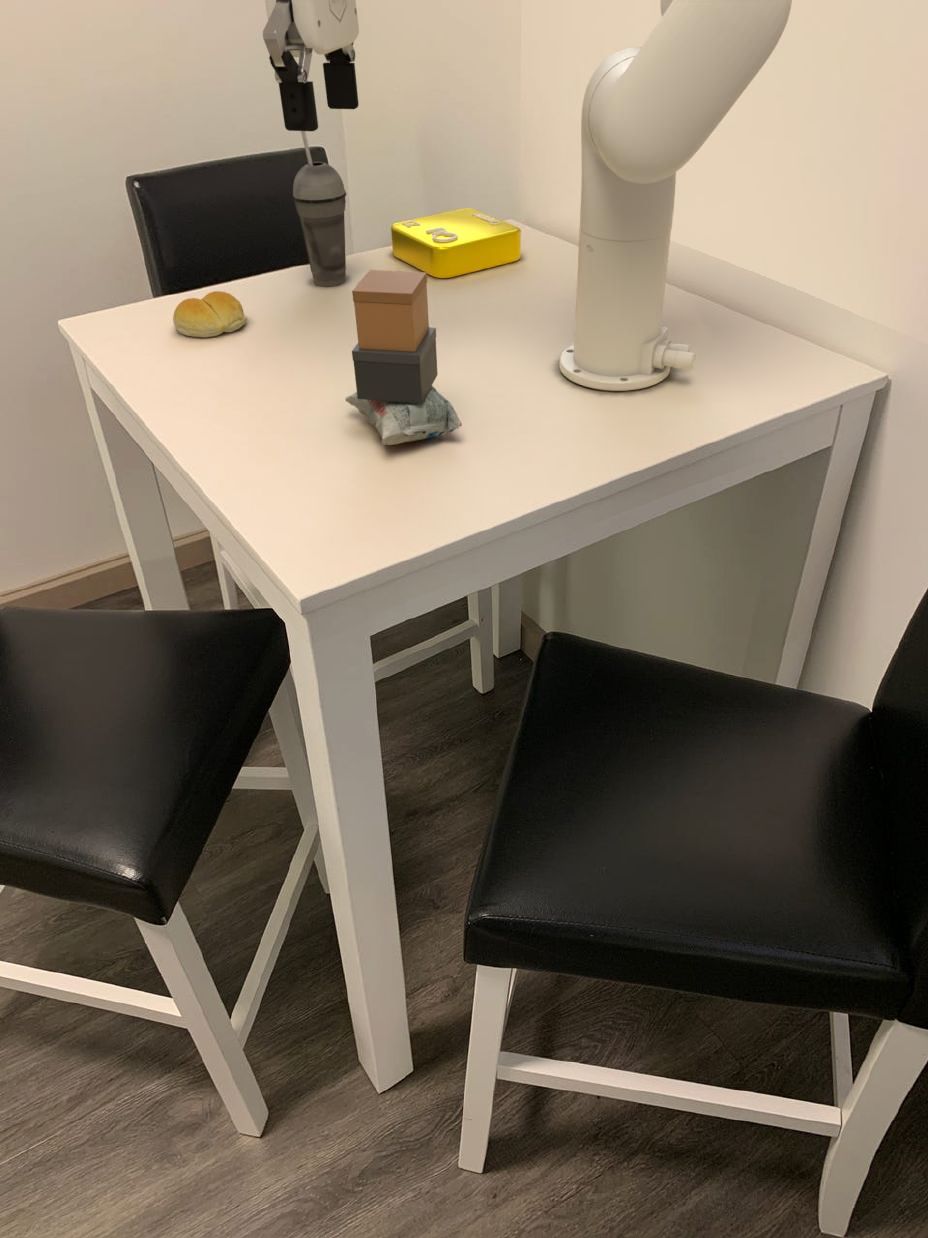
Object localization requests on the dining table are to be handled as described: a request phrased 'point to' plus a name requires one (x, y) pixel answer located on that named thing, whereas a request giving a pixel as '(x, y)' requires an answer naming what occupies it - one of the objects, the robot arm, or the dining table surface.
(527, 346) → the dining table surface
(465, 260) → the element tile
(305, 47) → the robot arm
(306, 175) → the beverage cup
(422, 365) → the charcoal box
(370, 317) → the kraft box
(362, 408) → the packaged food
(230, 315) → the bread roll
